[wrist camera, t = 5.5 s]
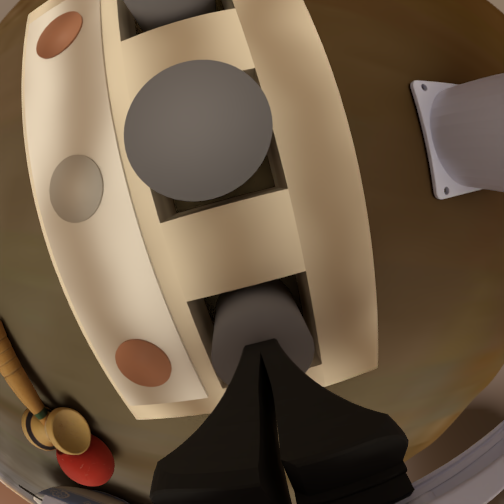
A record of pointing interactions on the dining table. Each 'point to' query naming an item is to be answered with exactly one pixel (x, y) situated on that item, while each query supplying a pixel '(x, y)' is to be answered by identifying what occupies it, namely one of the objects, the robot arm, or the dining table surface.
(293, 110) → the button board
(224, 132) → the button
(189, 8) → the button
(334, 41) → the dining table surface
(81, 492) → the ramen bowl
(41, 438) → the kendama
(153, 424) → the dining table surface
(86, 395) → the dining table surface
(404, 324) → the dining table surface
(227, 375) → the button
